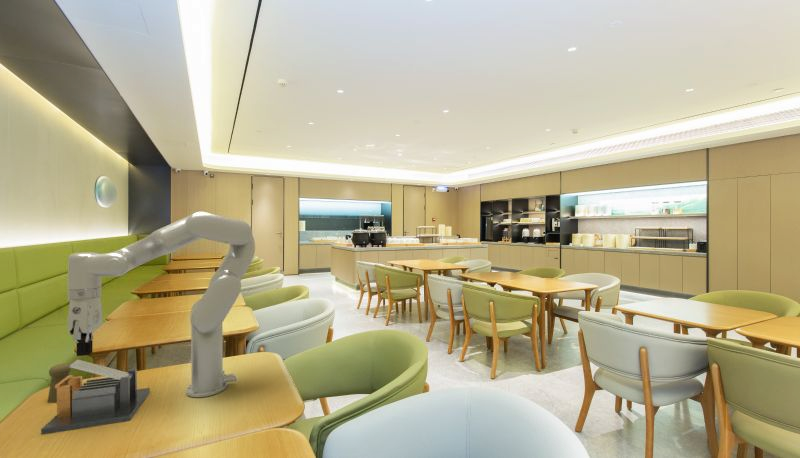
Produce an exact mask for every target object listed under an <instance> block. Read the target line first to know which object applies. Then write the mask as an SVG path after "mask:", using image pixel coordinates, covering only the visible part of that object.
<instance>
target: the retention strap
mask: <svg viewBox="0 0 800 458" xmlns="http://www.w3.org/2000/svg"><path fill="white" fill-rule="evenodd" d="M69 365H70V367H71V369H75V370H79V371H84V372H87V373H90V374H95V375H99V376H103V377H105V378H108V377H110V378H114V379H118V380H120V379H121V378H122V377H129V376H130V378H131V377H132V376H133V373H128V371H122V370H119V369H116V368H112V367H108V366H104V365H100V364H95V363H92V362H88V361H85V360H81V359H76V360H75V361H74V362H72V363H71V364H69Z"/></svg>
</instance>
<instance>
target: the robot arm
mask: <svg viewBox="0 0 800 458" xmlns="http://www.w3.org/2000/svg"><path fill="white" fill-rule="evenodd" d="M200 239H205V240H208V241H212V242H218V243H222V244H228V245H229V249H228V251H227V253H226V255H225V256H224V259H223V261H222V262H221V264H220V265H219V267H218V268H217V270H216V271H215V273H214V274H213V275H212V277H211V278H210V280H209V284H208V287H207V288H206V290H205V291H204V294H203V295H202V297H201V298H199V299H198V300H196V301H195V303H194V304H193V305H192V307H191V309H190V314H189V315H190V317H189V321H190V341H191V342H190V346H191V347H190V351H191V352H190V353H191V354H190V359H191V361H190V362H191V363H190V364H191V365H190V369H191V370H190V371H191V376H190V377H191V378H190V379H191V383H190V385H188V386H187V387H186V388H185V389H186V390H185V391H186V396H189V397H191V398H205V397H210V396H214V395H216V394H219V393H221V392H223V391H224V390H225V389H227V387H228V383H229V382H232V383H233V382H237V380H238V379H237V376H238V375H237V374H235V373H231V374H226V373H225V372H226V371H225V370H223V367H224V365H223V358H224V355H223V354H224V353H223V341H224V340H223V338H224V337H223V336H224V335H223V322H224V320H225V319H226V317H228V314H229V313H230V311H231V309H232V308H233V306H234V305H235V303H236V301H237V299H238V298H239V296H240V292H241V289H242V280H243V278H244V276H245V274H246V273H247V270H248V268H249V267H250V265H251V263H252V261H253V260H254V259H253V258H254V255H255V251H256V242H255V237H254V234H253V230H252V227H251V225H250V224H249V223H248V222H246V221H244V220H240V219H235V218H231V217H227V216H222V215H220V214H218V215H217V214H215V213H212V212H211V213H210V212H207V211H202V210H201V211H200V210H199V211H195V212H193V213H192V214H189V215H188V216H185V217H183V218H181V219H179V220H177V221H174V222H172V223H169V224H168V225H165V226H163V227H160V228H159V229H156V230H154V231H153V232H151V233H150V234H149V235H147V236H145V237H144V238H141V239H139V240H138V241H135V242H133V243H130V244H129V245H126V246H125V247H122V248H119V249H118V250H115V251H111V252H106V253H98V252H91V251H89V252H87V251H84V252H73V253H71V254H69V256H68V258H67V301H69V307H68V316H67V332H68V334H69V335H70V336H72V340H73V341H75V343H76V357H81V356H83V357H84V356H89V355H91V354H92V353H93V345H94V343H93V339H94V332H95V331H96V330H97V329H99V328H101V327H102V325H103V305H102V299H101V298H102V277H107V278H115V277H122V276H124V275H125V274H127V273H128V272H130V271H132V270H133V269H135V268H137V267H140V266H141V265H144V264H146V263H148V262H150V261H153V260H154V259H156V258H160V257H162V256H166V255H167V256H168V255H169V254H172V253H174V252H176V251H178V250H180V249H182V248H185V247H186V246H188V245H190V244H193V243H194V242H196V241H199V240H200ZM234 374H235V375H234Z"/></svg>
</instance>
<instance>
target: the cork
mask: <svg viewBox="0 0 800 458" xmlns="http://www.w3.org/2000/svg"><path fill="white" fill-rule="evenodd" d="M70 365H71V364H70V363H67V362H66V363H59V364H56V365H53V366H52V367H50V368H49V371H48V373H49V376H50V377H51V378H50V385H49V389H48V390H49V391H48V397H47V403H48V404H54V403H55V404H57V388H55V385H57V384H58V383H59V382H60V381H62V380H63V379H64V378H66V377H67V376H68V375H70V372H71V371H72V368H71V367H70ZM64 385H68V382H66V383H65V384H64ZM64 385H62V386H64Z"/></svg>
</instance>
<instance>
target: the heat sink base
mask: <svg viewBox="0 0 800 458" xmlns="http://www.w3.org/2000/svg"><path fill="white" fill-rule="evenodd" d="M137 370H138V369H137V368H129V370H127V373H133V376H132V377H131V378H130V376H129V377H122V378H121V379H120V380H118V379H114V378H110V377H102V378H93V379H87V380H86V382H83V376H82V375H79V376H74V375H73V374H69V375H68V376H67V377H66V378H64V379H63V380H62V381H60V382H59V383H58V384H57V385H55V388H57V403H56V415H55V416H54V417H52V419H51V420H50V421H49V422H47V423H46V424H45V425H43V427H42V428H40V431H41V433H40V434H41V436H42V435H47V434H52V433H59V432H66V431H72V430H77V429H85V428H91V427H97V426H103V425H109V424H111V425H112V424H116V423H122V422H127V421H128V422H129V421H131V419H133V416H134V415H135V414H136V412H138V409H140V406H141V405H142V404H143V403H144V401H145V399H146V398H147V397H148V395H149V394H150V393H151V391H150V390H151V389H150V388H151V387H148V388H146V387H145V388H138V374H137V373H138V371H137ZM66 382H68V385H64V384H65V383H66ZM62 385H64V386H62Z"/></svg>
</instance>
